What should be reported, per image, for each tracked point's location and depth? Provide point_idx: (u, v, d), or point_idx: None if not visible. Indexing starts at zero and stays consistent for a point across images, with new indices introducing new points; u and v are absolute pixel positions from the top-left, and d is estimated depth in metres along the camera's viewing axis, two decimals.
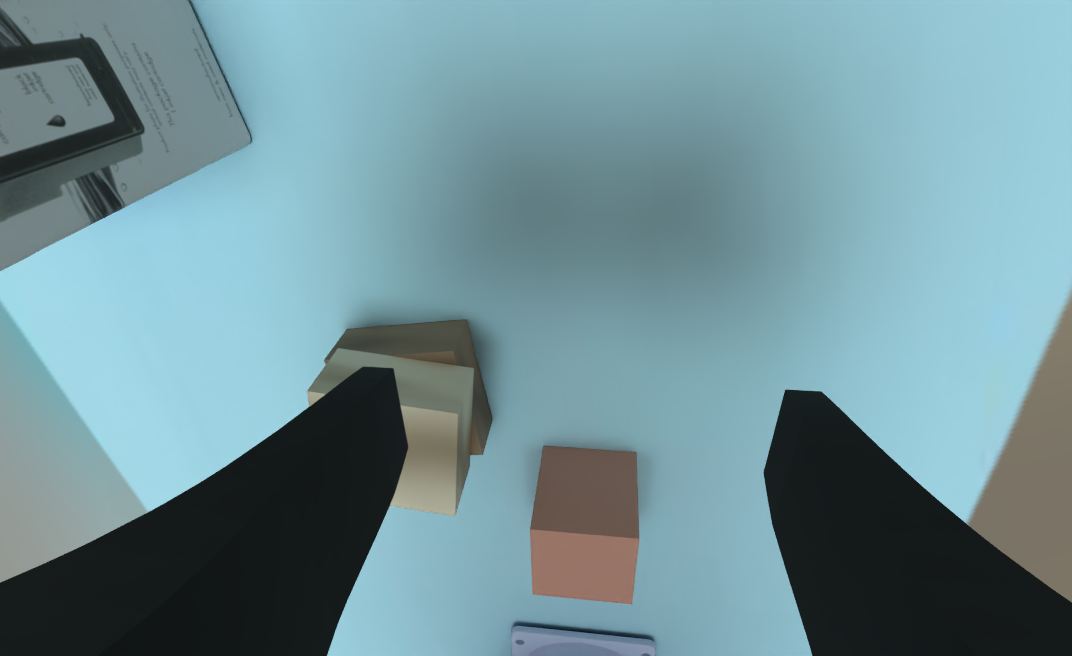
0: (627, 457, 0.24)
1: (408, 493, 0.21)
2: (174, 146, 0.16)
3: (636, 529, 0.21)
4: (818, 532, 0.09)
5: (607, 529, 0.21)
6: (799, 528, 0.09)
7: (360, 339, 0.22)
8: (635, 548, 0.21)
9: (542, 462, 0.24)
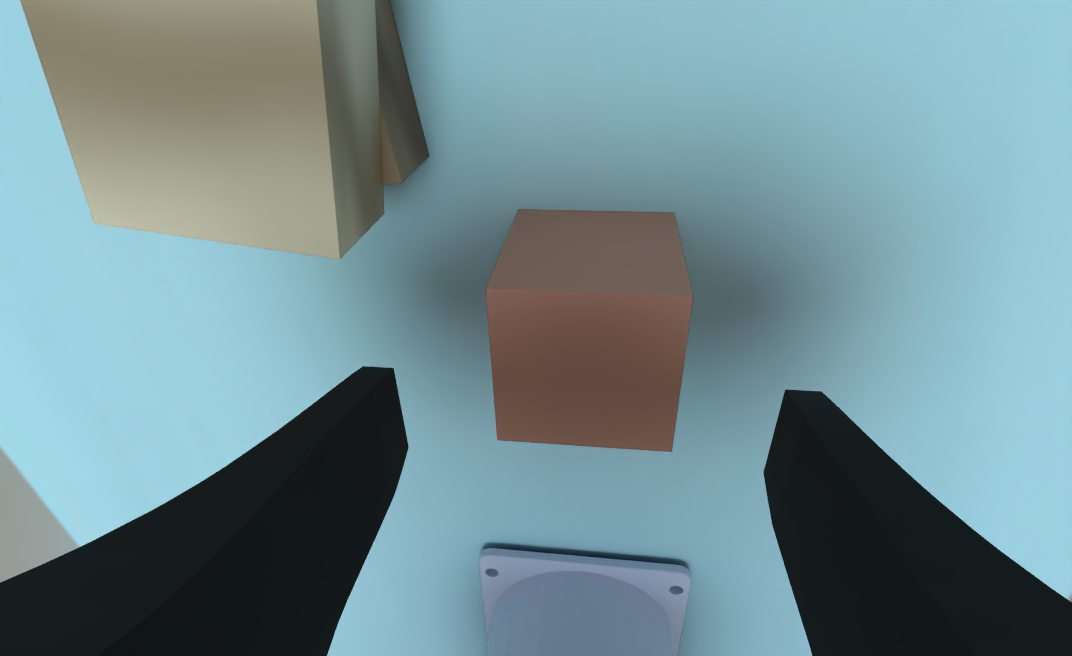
0: (659, 217, 0.14)
1: (247, 206, 0.11)
2: None
3: (686, 285, 0.11)
4: (818, 532, 0.09)
5: (631, 287, 0.11)
6: (799, 528, 0.09)
7: None
8: (684, 321, 0.11)
9: (515, 223, 0.14)
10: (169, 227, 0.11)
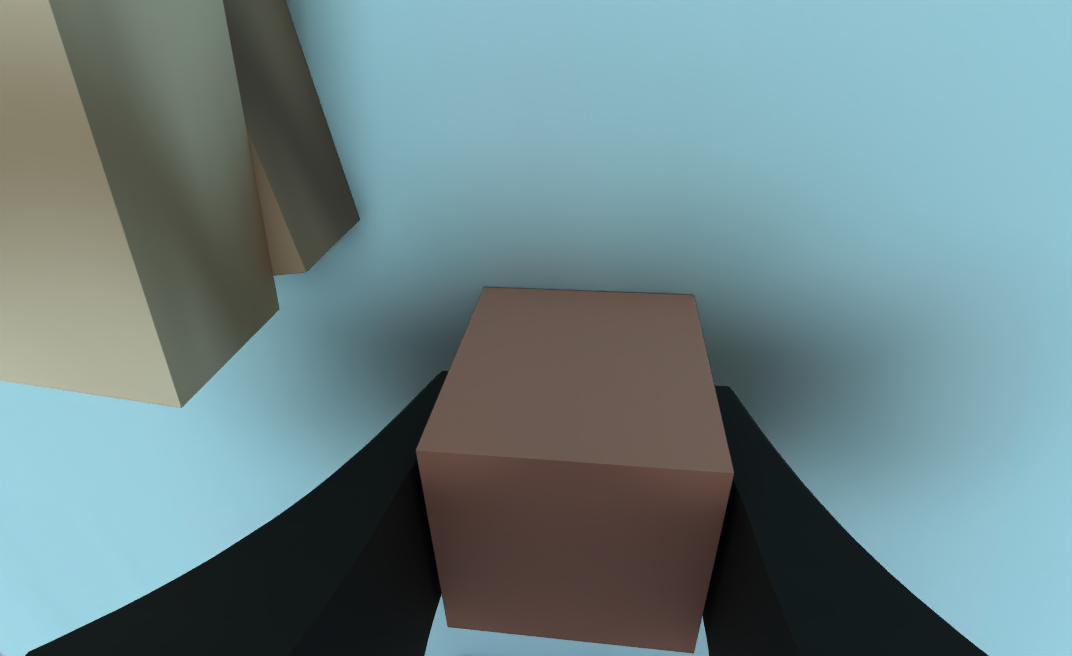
0: (675, 305, 0.11)
1: (29, 334, 0.07)
2: None
3: (722, 449, 0.07)
4: None
5: (638, 449, 0.07)
6: None
7: None
8: (719, 503, 0.07)
9: (476, 315, 0.10)
10: None
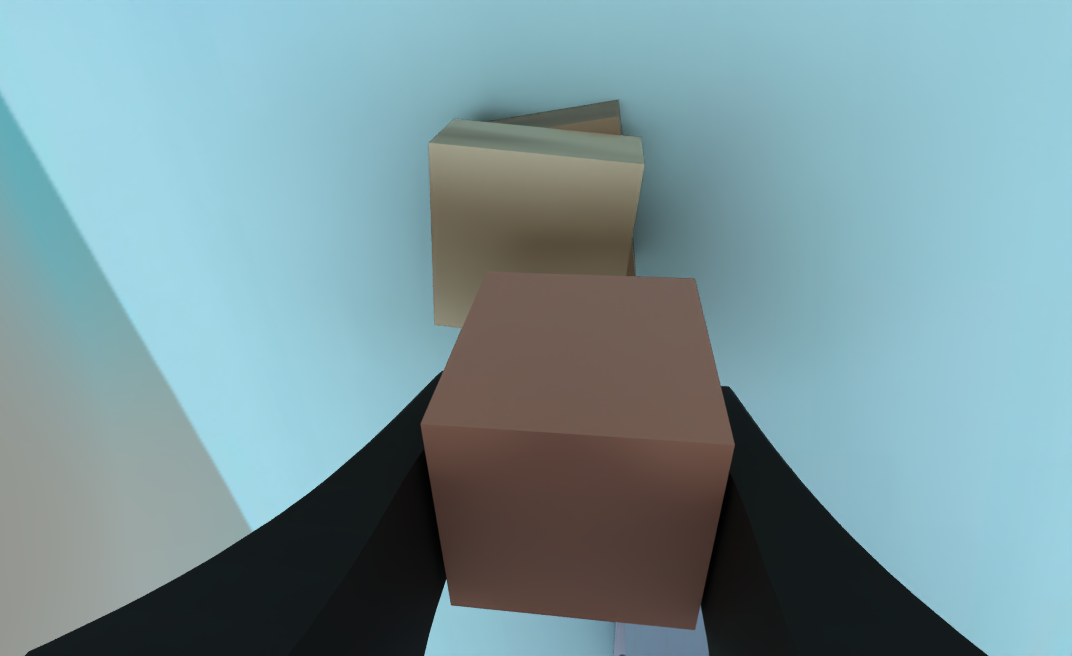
0: (676, 287, 0.11)
1: None
2: None
3: (722, 422, 0.07)
4: None
5: (639, 422, 0.08)
6: None
7: None
8: (720, 476, 0.07)
9: (479, 297, 0.10)
10: None
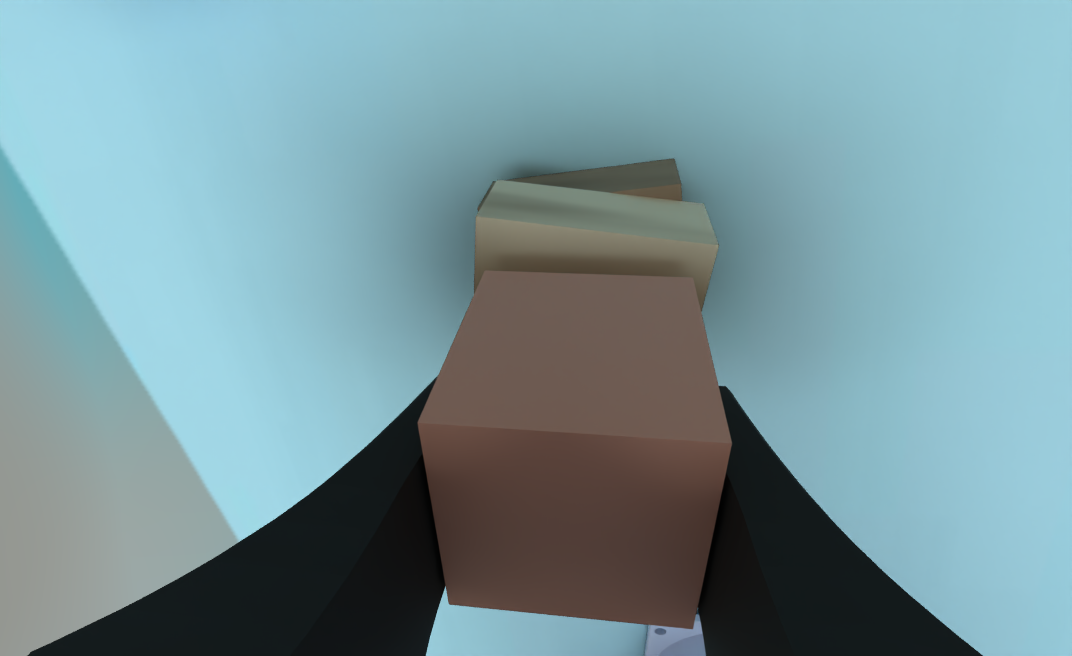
0: (674, 286, 0.11)
1: None
2: None
3: (720, 420, 0.07)
4: None
5: (637, 422, 0.07)
6: None
7: None
8: (717, 475, 0.07)
9: (477, 296, 0.10)
10: None
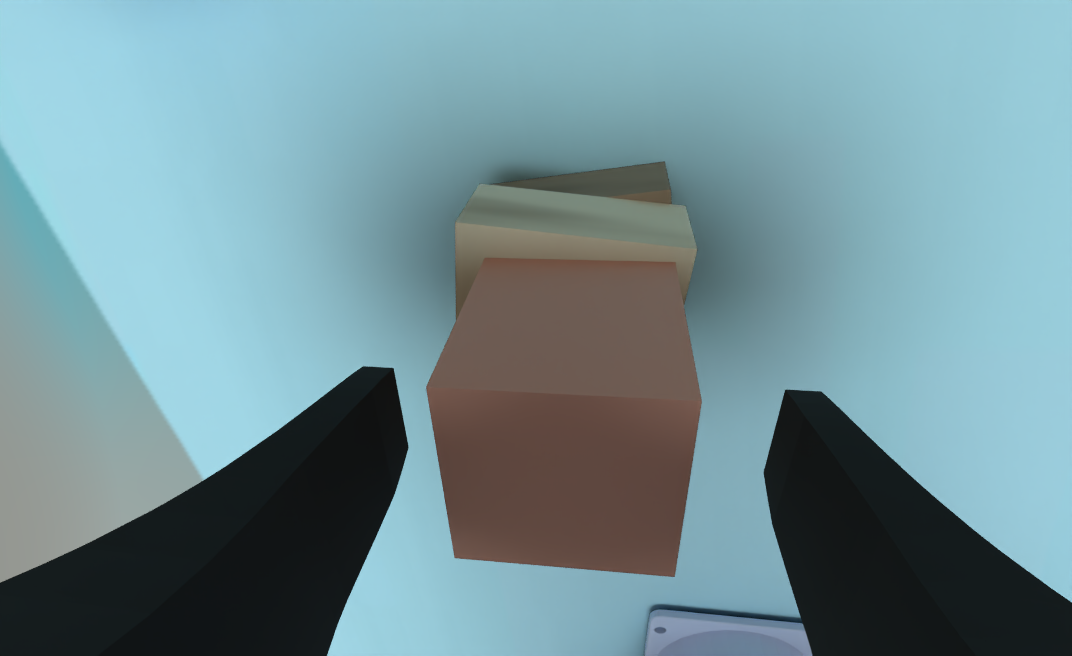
0: (657, 270, 0.12)
1: None
2: None
3: (692, 383, 0.08)
4: (818, 532, 0.09)
5: (619, 384, 0.09)
6: (799, 528, 0.09)
7: None
8: (690, 430, 0.08)
9: (477, 280, 0.11)
10: None
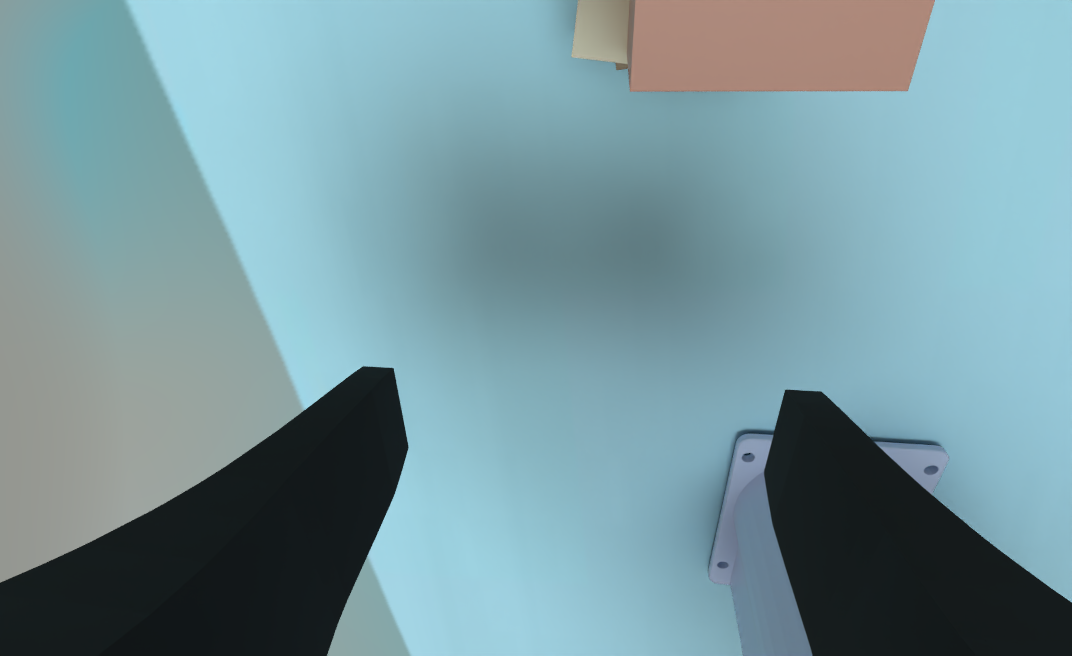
0: None
1: None
2: None
3: None
4: (818, 532, 0.09)
5: None
6: (799, 528, 0.09)
7: None
8: None
9: None
10: None
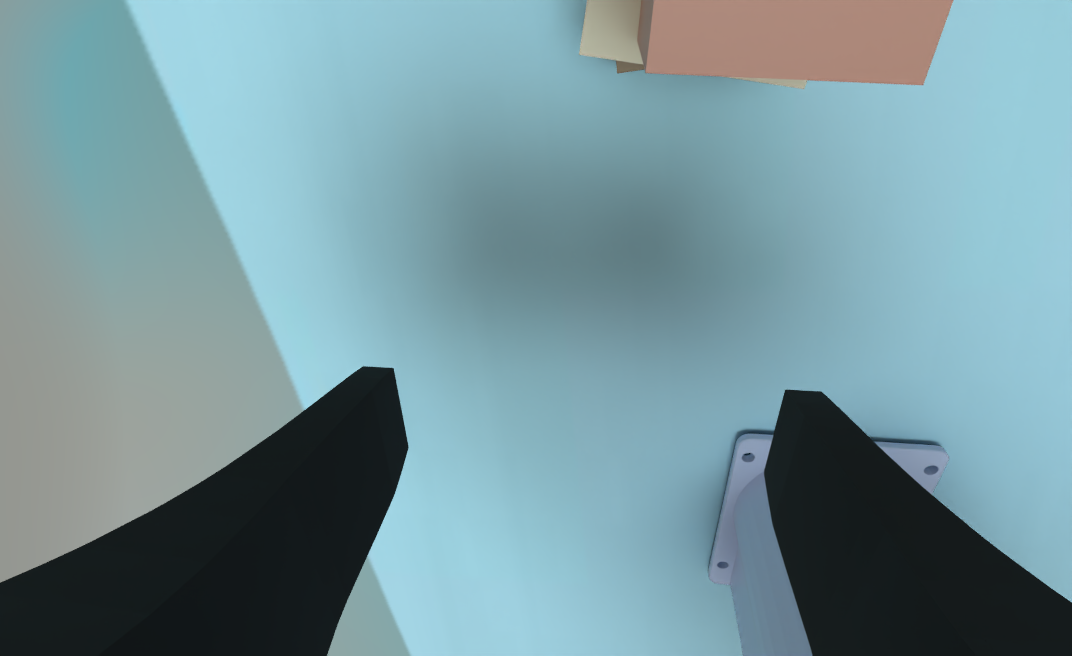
0: None
1: None
2: None
3: None
4: (818, 532, 0.09)
5: None
6: (799, 528, 0.09)
7: None
8: None
9: None
10: None
